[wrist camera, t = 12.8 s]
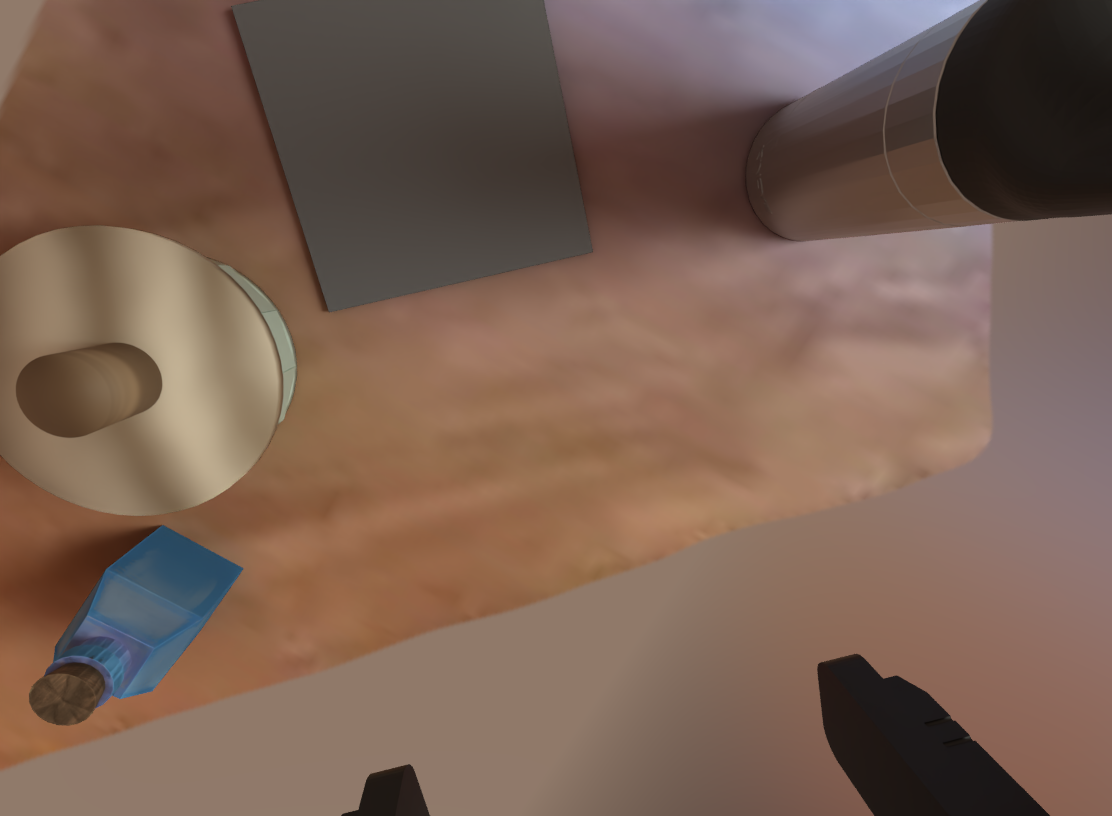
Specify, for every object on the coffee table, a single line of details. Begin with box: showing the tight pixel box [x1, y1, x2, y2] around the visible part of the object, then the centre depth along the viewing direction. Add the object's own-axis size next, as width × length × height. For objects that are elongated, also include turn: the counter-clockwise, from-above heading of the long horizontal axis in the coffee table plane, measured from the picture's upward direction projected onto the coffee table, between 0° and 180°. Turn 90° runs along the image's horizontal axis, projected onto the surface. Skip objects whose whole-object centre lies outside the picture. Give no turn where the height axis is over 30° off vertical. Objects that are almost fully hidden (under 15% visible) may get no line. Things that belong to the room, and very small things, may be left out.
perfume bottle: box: [29, 525, 243, 726], centre depth 36 cm, size 6×6×12 cm
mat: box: [231, 0, 593, 312], centre depth 36 cm, size 18×18×1 cm
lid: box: [0, 226, 283, 516], centre depth 29 cm, size 16×16×6 cm
